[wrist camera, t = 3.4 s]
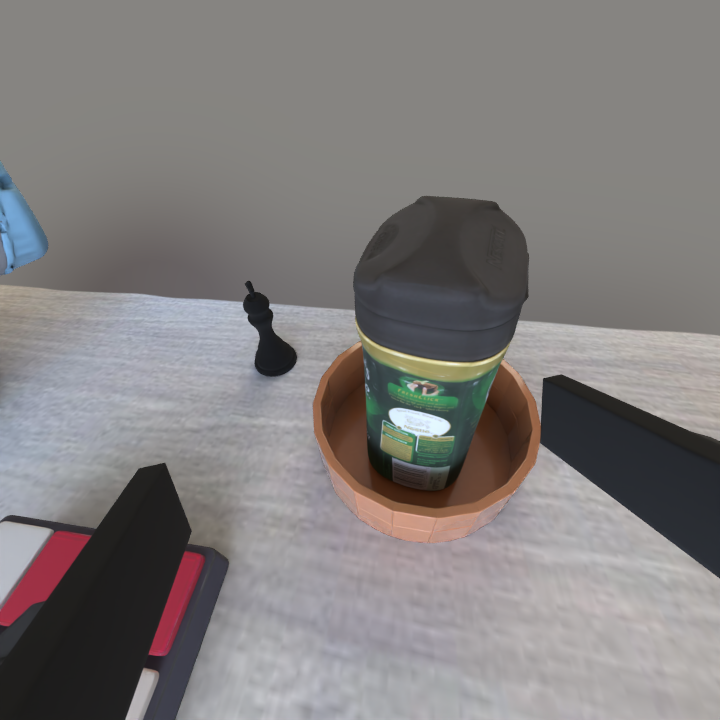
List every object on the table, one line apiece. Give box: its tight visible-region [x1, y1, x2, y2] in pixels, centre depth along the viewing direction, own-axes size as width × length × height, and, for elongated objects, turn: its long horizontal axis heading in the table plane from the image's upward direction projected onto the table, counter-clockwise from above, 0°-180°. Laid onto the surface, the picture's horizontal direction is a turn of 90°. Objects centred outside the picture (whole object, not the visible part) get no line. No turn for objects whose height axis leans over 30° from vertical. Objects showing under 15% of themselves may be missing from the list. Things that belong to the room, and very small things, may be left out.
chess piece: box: [243, 281, 297, 376], centre depth 32 cm, size 4×4×10 cm
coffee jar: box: [353, 196, 529, 491], centre depth 21 cm, size 10×8×19 cm
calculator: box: [0, 515, 229, 720], centre depth 19 cm, size 11×4×15 cm
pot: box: [313, 341, 541, 543], centre depth 26 cm, size 16×16×6 cm
